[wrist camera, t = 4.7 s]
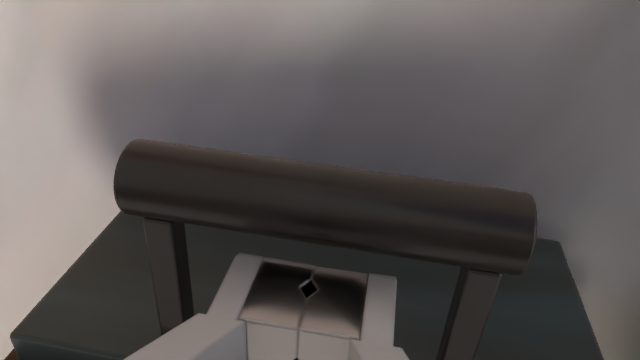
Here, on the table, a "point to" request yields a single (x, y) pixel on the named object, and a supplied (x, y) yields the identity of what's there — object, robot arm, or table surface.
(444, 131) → the table surface
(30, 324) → the drawer
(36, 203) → the table surface
